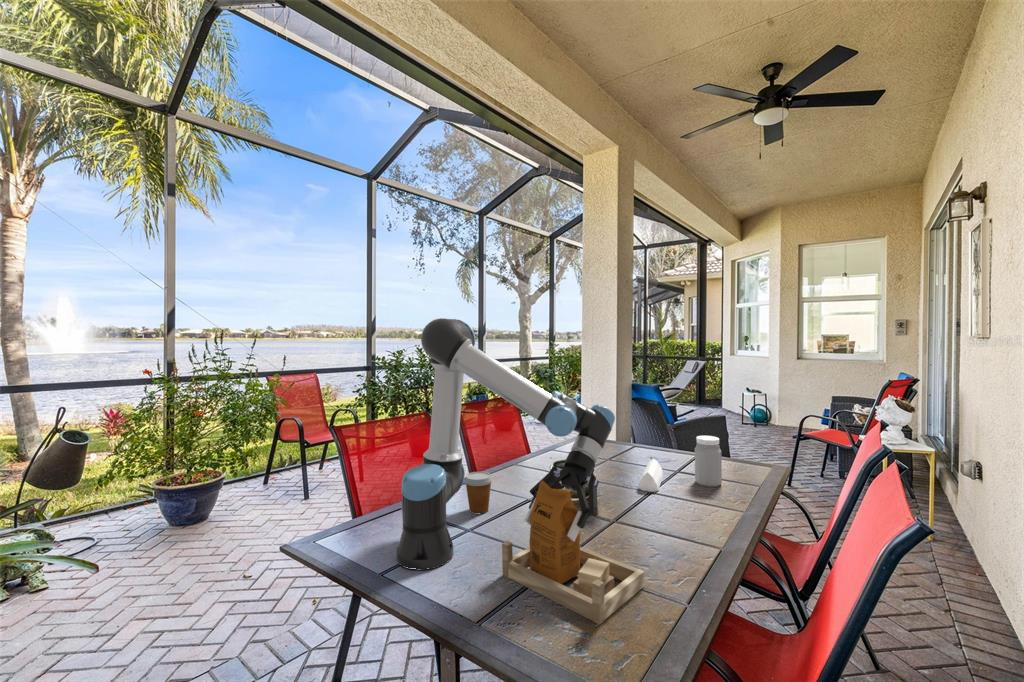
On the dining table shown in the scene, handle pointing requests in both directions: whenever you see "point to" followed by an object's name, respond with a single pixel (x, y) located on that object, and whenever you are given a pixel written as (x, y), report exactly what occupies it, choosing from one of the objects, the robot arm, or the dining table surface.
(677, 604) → the dining table surface
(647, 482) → the white triangular prism
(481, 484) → the disposable coffee cup
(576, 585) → the offcut lower
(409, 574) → the dining table surface
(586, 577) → the offcut upper
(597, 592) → the rack
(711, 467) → the jar
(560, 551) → the coffee package
